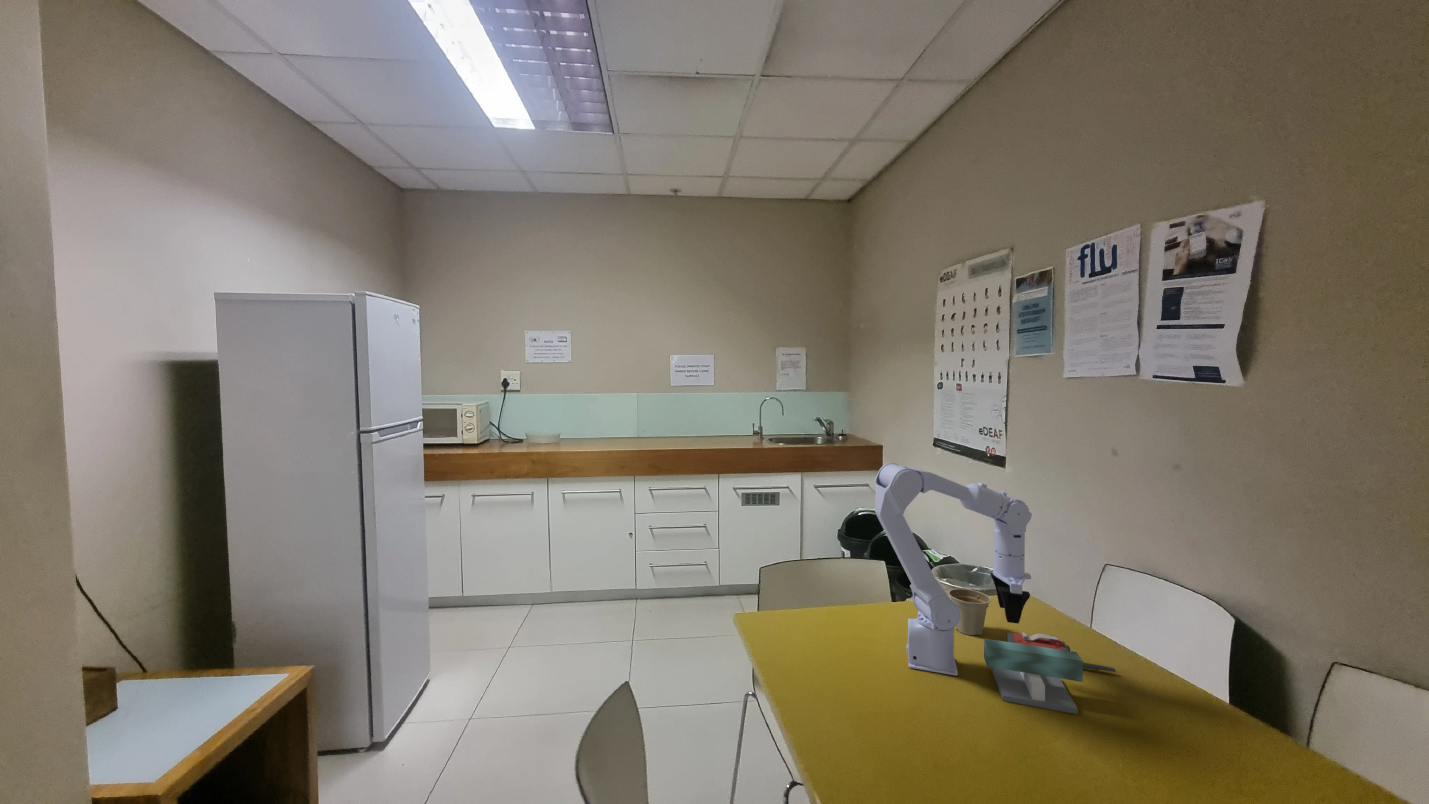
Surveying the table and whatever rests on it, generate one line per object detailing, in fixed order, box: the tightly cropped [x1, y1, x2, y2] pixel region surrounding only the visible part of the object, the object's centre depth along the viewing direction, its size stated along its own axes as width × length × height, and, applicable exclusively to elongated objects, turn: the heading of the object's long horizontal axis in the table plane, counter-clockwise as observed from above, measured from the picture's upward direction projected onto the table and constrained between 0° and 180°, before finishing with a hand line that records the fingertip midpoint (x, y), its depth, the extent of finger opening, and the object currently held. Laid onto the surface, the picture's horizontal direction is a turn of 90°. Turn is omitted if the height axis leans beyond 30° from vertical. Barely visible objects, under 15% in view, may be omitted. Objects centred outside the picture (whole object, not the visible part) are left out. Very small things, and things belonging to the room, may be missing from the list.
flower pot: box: [947, 588, 992, 636], centre depth 123 cm, size 9×9×9 cm
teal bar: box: [983, 638, 1084, 683], centre depth 98 cm, size 16×4×4 cm, turn 70°
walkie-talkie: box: [1006, 631, 1117, 673], centre depth 110 cm, size 9×4×20 cm
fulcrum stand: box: [990, 667, 1079, 715], centre depth 98 cm, size 12×12×4 cm
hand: (1008, 614), depth 108 cm, fingers open, 7 cm apart
